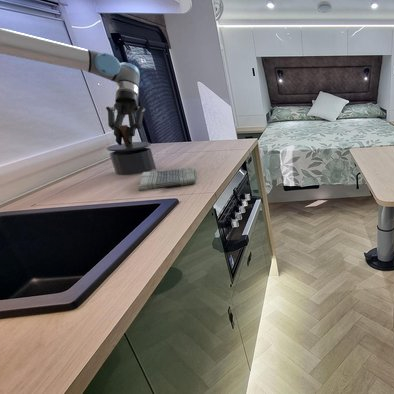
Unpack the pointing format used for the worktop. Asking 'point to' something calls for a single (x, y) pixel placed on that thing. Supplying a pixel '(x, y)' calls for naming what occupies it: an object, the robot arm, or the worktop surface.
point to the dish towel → (167, 178)
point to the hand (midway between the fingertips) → (123, 142)
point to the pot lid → (126, 145)
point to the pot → (133, 161)
